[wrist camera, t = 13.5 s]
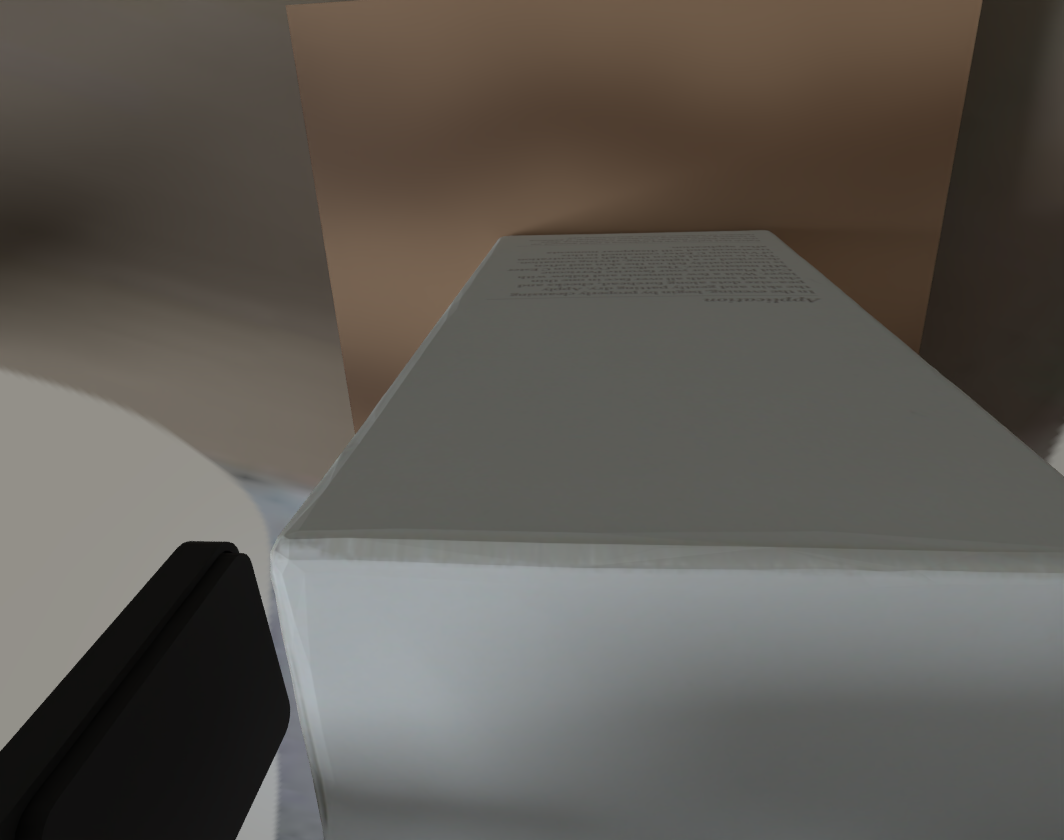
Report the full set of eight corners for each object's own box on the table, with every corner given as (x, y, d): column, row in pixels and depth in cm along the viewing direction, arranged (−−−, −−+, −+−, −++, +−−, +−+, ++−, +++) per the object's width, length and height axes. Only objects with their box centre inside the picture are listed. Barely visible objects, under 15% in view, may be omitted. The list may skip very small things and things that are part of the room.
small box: (748, 529, 20) (958, 1201, 8) (513, 525, 20) (377, 1139, 8) (778, 219, 16) (1225, 571, 4) (495, 227, 17) (228, 550, 5)
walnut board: (327, 15, 18) (285, 5, 15) (936, -24, 16) (990, -42, 14) (412, 612, 25) (392, 664, 23) (836, 623, 24) (860, 681, 21)
